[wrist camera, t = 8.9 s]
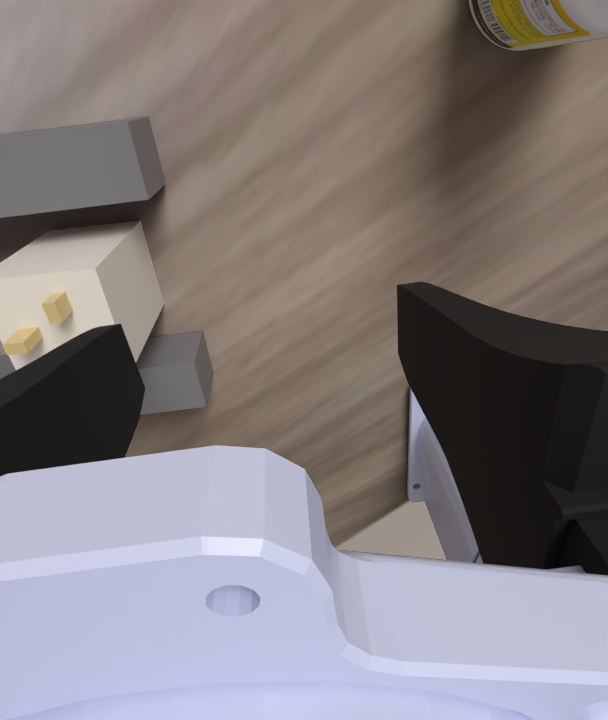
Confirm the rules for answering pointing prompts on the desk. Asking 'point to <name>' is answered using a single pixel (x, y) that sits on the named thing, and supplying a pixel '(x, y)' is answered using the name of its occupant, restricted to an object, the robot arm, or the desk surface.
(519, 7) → the supplement bottle
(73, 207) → the grey u-shaped bracket
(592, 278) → the desk surface
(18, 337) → the plug
